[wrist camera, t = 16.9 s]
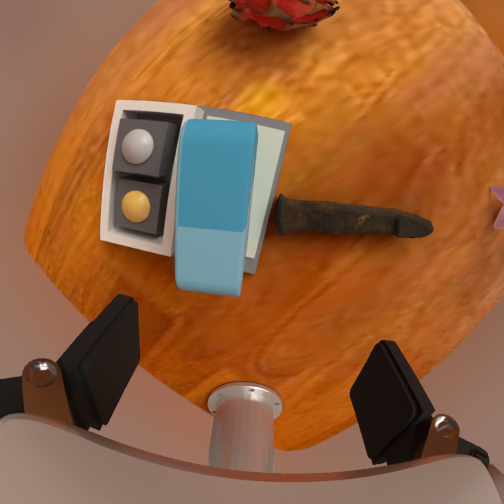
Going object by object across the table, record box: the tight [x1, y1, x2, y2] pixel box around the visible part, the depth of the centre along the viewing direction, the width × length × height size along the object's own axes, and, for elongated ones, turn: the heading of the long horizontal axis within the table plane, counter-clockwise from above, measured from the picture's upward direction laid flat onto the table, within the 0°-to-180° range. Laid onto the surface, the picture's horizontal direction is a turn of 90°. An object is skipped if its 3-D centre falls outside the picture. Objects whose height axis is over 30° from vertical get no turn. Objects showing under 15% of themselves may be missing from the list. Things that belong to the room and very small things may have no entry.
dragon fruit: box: [228, 0, 340, 31], centre depth 18 cm, size 8×8×12 cm
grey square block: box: [112, 118, 178, 177], centre depth 23 cm, size 5×5×3 cm
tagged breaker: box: [114, 175, 171, 234], centre depth 26 cm, size 5×5×3 cm
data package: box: [175, 119, 258, 297], centre depth 22 cm, size 12×4×12 cm, turn 174°
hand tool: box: [276, 194, 434, 238], centre depth 27 cm, size 19×4×5 cm, turn 86°
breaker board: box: [100, 100, 292, 274], centre depth 26 cm, size 17×18×4 cm
